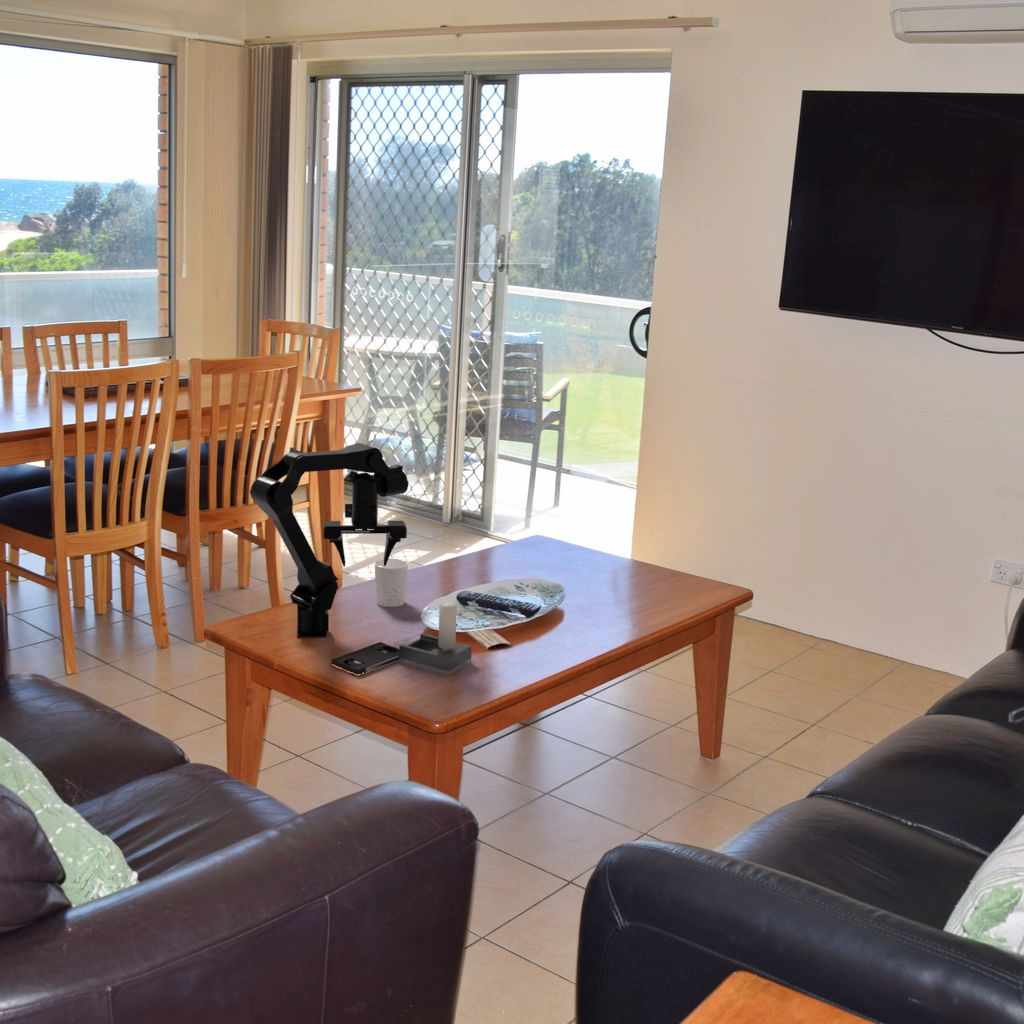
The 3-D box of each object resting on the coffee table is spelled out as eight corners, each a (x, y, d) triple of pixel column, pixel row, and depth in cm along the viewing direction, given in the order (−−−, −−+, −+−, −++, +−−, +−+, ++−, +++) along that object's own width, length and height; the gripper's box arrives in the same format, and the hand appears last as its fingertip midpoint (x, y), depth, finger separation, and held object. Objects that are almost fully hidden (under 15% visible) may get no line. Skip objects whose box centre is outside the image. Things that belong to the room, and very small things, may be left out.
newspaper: (443, 617, 281) (443, 610, 281) (470, 614, 284) (471, 607, 284) (487, 652, 261) (487, 645, 260) (515, 648, 264) (516, 640, 264)
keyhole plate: (398, 662, 251) (399, 645, 250) (422, 649, 259) (423, 633, 258) (447, 675, 246) (448, 658, 245) (471, 662, 253) (471, 645, 252)
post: (431, 663, 249) (433, 607, 245) (438, 655, 254) (440, 599, 250) (454, 666, 248) (456, 610, 244) (460, 658, 252) (463, 602, 249)
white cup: (368, 605, 285) (368, 565, 283) (383, 595, 292) (384, 556, 290) (397, 610, 282) (398, 570, 280) (412, 600, 289) (413, 561, 287)
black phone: (357, 678, 244) (357, 669, 243) (331, 668, 248) (331, 659, 248) (406, 660, 254) (406, 651, 254) (380, 650, 259) (380, 641, 259)
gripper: (403, 491, 278) (402, 554, 282) (322, 491, 274) (322, 555, 278) (407, 503, 267) (406, 569, 271) (323, 503, 264) (323, 570, 268)
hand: (364, 565), depth 272 cm, fingers open, 9 cm apart
